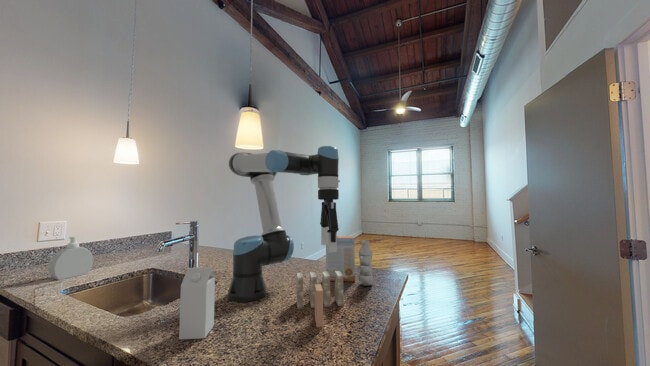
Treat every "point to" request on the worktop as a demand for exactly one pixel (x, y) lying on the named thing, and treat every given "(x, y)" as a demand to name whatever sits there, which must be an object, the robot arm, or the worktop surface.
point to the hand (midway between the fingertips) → (328, 248)
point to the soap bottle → (70, 261)
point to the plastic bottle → (365, 264)
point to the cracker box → (342, 259)
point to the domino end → (319, 305)
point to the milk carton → (197, 303)
